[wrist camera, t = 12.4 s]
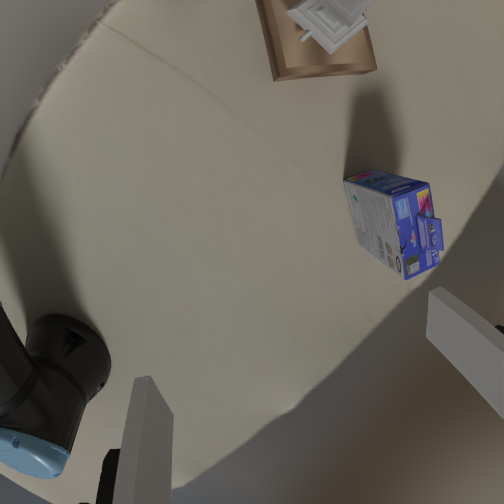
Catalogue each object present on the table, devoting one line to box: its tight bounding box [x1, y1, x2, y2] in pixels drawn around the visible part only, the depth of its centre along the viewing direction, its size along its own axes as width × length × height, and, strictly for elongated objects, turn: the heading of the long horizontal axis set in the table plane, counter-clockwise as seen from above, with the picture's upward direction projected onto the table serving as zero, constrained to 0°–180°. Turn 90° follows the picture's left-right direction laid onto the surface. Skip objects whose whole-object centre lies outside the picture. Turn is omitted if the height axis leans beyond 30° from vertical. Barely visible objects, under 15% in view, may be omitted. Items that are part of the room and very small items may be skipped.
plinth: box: [255, 0, 377, 82], centre depth 31 cm, size 12×12×4 cm
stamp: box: [286, 0, 374, 55], centre depth 25 cm, size 9×7×8 cm
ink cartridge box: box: [344, 170, 444, 280], centre depth 35 cm, size 10×6×14 cm, turn 20°
